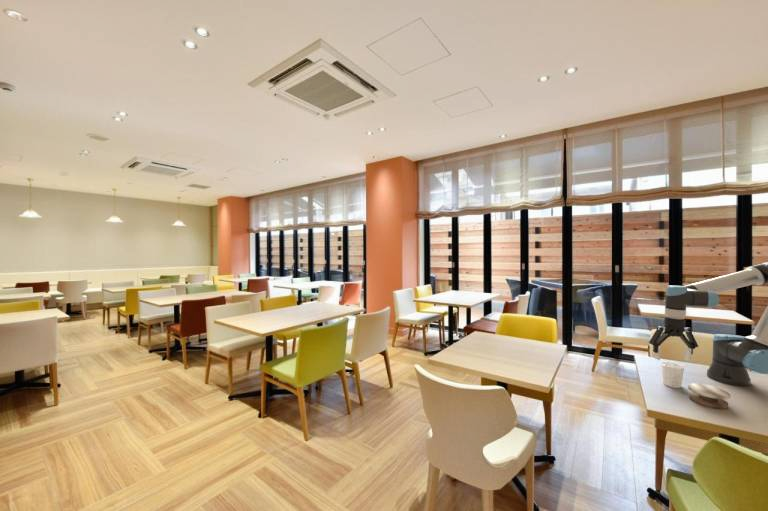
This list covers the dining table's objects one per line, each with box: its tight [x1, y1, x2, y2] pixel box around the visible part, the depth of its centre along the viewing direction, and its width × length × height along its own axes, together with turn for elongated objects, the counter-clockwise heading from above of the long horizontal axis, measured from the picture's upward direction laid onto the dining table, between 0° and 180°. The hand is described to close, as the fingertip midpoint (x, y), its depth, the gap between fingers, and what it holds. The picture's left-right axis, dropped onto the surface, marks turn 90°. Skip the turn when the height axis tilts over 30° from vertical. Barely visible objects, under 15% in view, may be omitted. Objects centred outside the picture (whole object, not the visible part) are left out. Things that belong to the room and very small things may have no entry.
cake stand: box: [687, 382, 731, 410], centre depth 139 cm, size 13×13×6 cm
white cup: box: [661, 361, 685, 389], centre depth 155 cm, size 8×8×10 cm
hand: (672, 359), depth 155 cm, fingers open, 13 cm apart
